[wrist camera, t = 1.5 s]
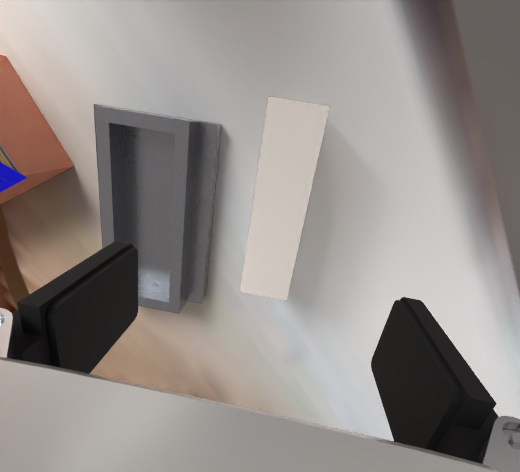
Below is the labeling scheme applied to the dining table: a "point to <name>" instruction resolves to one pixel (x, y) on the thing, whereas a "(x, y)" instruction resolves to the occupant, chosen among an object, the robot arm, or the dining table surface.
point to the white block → (281, 194)
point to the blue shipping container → (24, 139)
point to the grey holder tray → (159, 198)
